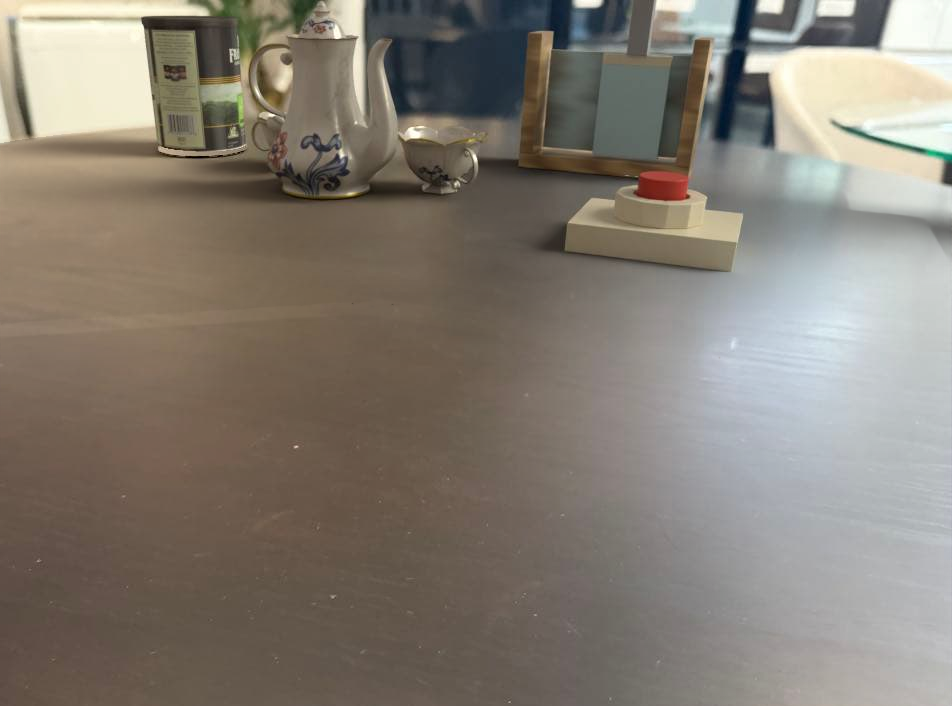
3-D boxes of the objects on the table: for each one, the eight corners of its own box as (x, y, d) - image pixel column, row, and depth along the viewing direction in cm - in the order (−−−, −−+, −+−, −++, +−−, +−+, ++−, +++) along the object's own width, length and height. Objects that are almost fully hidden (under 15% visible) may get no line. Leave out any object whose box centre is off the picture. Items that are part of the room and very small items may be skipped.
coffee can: (244, 141, 103) (235, 15, 97) (249, 157, 94) (240, 19, 88) (157, 143, 101) (143, 14, 94) (154, 159, 92) (138, 18, 85)
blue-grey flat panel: (658, 158, 88) (685, -23, 80) (656, 160, 87) (683, -23, 79) (594, 152, 90) (614, -24, 83) (591, 155, 89) (611, -24, 81)
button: (687, 197, 64) (691, 173, 63) (682, 207, 61) (686, 182, 60) (640, 192, 65) (643, 169, 64) (632, 201, 62) (636, 178, 61)
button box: (738, 240, 66) (748, 190, 65) (731, 272, 59) (742, 216, 57) (588, 223, 70) (593, 175, 69) (564, 251, 63) (569, 198, 61)
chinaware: (505, 201, 84) (525, 19, 78) (434, 220, 70) (450, 0, 64) (275, 170, 95) (276, 9, 89) (174, 182, 81) (167, -9, 75)
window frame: (692, 174, 90) (714, 37, 84) (687, 182, 86) (711, 39, 80) (529, 159, 96) (540, 30, 90) (518, 166, 92) (528, 32, 86)
